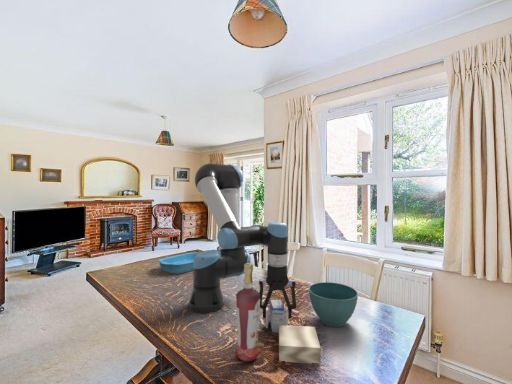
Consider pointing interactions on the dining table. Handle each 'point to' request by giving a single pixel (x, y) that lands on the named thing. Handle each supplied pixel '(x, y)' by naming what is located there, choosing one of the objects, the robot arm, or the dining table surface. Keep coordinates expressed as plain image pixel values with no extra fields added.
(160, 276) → the dining table surface
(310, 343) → the birch block
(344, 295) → the plant pot
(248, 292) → the liquor
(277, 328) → the medicine box
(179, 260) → the casserole dish
